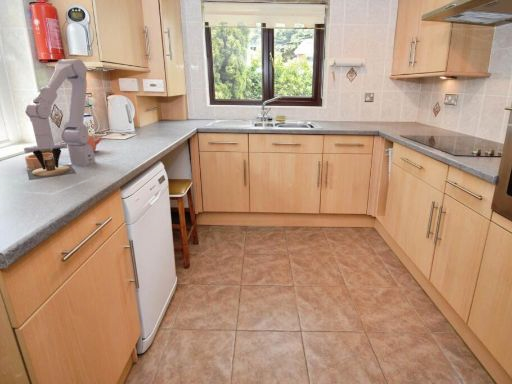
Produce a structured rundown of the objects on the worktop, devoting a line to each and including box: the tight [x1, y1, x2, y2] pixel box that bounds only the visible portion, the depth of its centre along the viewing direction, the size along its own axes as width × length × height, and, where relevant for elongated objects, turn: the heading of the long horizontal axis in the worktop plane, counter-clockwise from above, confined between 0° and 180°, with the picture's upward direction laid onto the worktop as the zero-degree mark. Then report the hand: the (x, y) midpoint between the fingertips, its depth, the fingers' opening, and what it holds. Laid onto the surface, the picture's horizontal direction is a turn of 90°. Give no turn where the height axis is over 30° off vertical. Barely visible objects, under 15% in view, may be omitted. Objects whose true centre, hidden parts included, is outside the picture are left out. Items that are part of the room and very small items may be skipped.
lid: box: [32, 158, 70, 176], centre depth 132 cm, size 13×13×5 cm
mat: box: [26, 164, 77, 181], centre depth 133 cm, size 16×17×1 cm
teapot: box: [87, 133, 103, 152], centre depth 167 cm, size 14×12×10 cm
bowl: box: [24, 153, 55, 169], centre depth 142 cm, size 11×11×4 cm
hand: (50, 168), depth 132 cm, fingers open, 4 cm apart
